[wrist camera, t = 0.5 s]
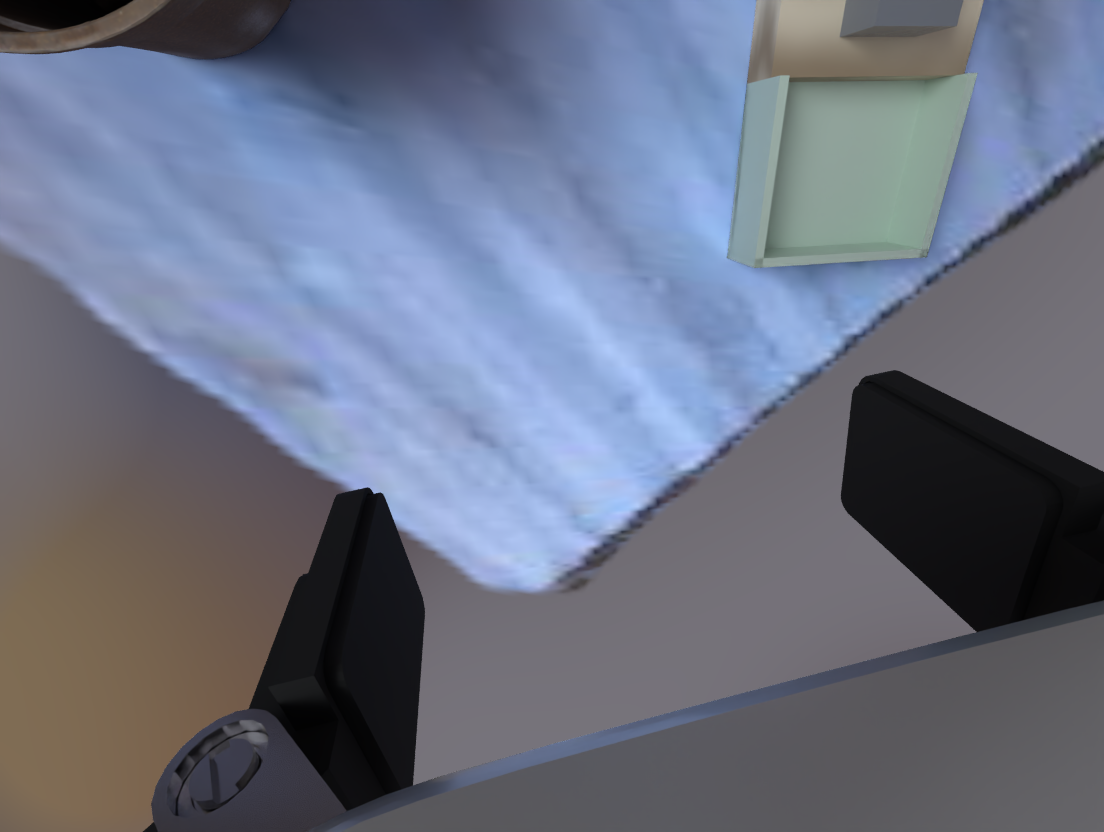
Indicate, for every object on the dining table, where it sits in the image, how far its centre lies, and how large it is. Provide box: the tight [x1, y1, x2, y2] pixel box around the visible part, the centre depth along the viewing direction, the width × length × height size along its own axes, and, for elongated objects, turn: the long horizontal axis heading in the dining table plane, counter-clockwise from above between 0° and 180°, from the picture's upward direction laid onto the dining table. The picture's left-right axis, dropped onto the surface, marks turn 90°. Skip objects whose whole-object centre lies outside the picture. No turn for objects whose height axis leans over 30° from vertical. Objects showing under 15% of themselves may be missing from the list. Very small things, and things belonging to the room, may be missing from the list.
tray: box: [727, 73, 977, 268], centre depth 36 cm, size 11×13×4 cm
